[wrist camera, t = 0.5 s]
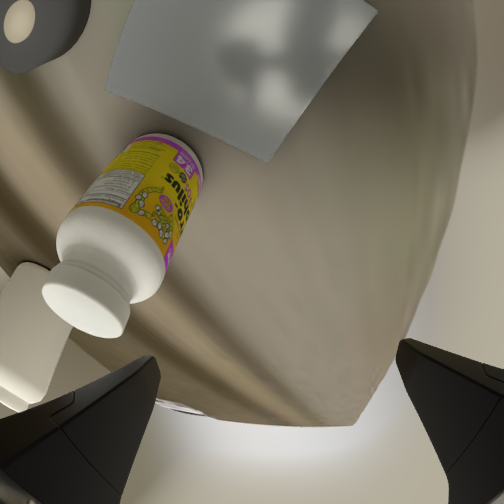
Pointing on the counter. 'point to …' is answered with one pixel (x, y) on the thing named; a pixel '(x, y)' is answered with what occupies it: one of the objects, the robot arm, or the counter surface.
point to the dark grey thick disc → (39, 31)
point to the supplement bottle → (123, 234)
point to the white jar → (28, 338)
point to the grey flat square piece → (234, 62)
